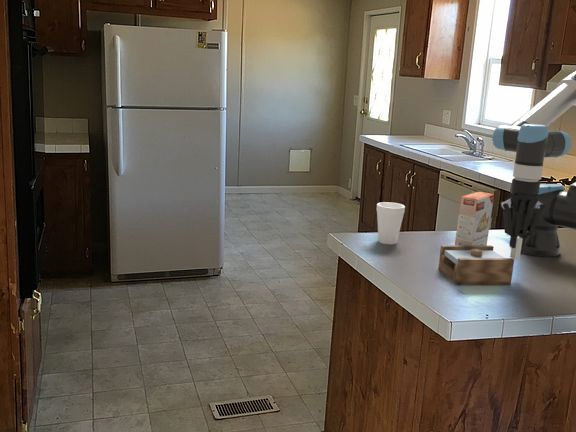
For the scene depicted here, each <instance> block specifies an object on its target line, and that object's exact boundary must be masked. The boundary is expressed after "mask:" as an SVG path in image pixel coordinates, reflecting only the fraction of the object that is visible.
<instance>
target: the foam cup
mask: <svg viewBox="0 0 576 432" xmlns="http://www.w3.org/2000/svg"><path fill="white" fill-rule="evenodd" d="M405 209H406V206H405V205H404V204H402V203H397V202H391V201H390V202H387V201H386V202H385V201H383V202H378V203H377V204H376V213H377V214H376V215H377V216H376V219H377V236H378V237H377V239H378V242H379V243H381V244H383V245H396V244H397V243H398V240H399V235H400V233H401V232H400V231H401V226H402V222H403V218H404V214H405V212H406V210H405Z"/></svg>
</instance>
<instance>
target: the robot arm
mask: <svg viewBox="0 0 576 432" xmlns="http://www.w3.org/2000/svg"><path fill="white" fill-rule="evenodd" d="M572 106H574V107H575V106H576V70H575V71H573V72H572V73H570V74H568V75H566V76H565V77H564V78H563V79H561V80H560V81H559V82H557V84H556V88H555V89H553V91H551V92H550V93H549V94H548V95H546V96H545V97H544V98H543V99H541V100H540V101H539V102H538V103H537V104H535V105H533V107H532V108H530V109H529V110H527V112H525V113H524V114H523V115H521V116H520V117H519V118H517V120H515V121H514V122H513V123H512V124H510V125H507V124H504V125H499V126H497V127H495V128H494V130H493V133H492V135H491V136H492V137H491V138H492V139H491V140H492V145H493V146H494V147H495V148H496V149H498V150H501V151H505V152H513V153H515V160H514V166H513V172H512V177H514V178H513V179H511V185H510V195H509V196H508V199H507V200H505V201H501V202H500V203H499V204H500V207H501V209H502V216H503V226H504V227H503V229H504V230H503V231H504V233H505V234H506V235H508V236H509V237H510V239H509V248H510V254H509V255H510V256H509V258H512V259H514V261H520V258H521V253H522V254H527V255H529V256H536V257H546V258H547V257H550V258H551V257H556V256H559V255H560V253H561V244H560V240H559V234H558V228H559V227H561V228H566V229H571V230H574V231H576V181H575V182H573V183H572V184H570V185H569V187H568V190H565V186H564V185H563V184H557V183H556V184H555V183H541V182H540V180H542V175H543V166H544V161H545V158H554V159H555V158H559V157H564V156H565V155H567V154H568V153H569V152H570V150H571V149H572V144H573V143H572V139H571V136H570V135H569V134H568V133H567V132H565V131H561V130H549V126H550V124H552V123H554V121H556V120H557V119H558V118H559V117H560V116H562V115H563V114H565V112H566V111H568V110H569V109H570V108H571V107H572ZM511 208H512V211H511Z"/></svg>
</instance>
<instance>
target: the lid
mask: <svg viewBox="0 0 576 432" xmlns="http://www.w3.org/2000/svg"><path fill="white" fill-rule="evenodd" d="M444 255H445V256H446V257H447V258H449V259H450V260H451V261H452V262H454V263H455V264H456V265H457V263H458V258H505V257H504V256H502V255H501V254H499V253H497V252H496V251H495V250H494V249H493V250H479V249H471V250H445V251H444Z"/></svg>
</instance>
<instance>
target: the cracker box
mask: <svg viewBox="0 0 576 432" xmlns="http://www.w3.org/2000/svg"><path fill="white" fill-rule="evenodd" d="M494 199H495V194H494V193H488V192H483V191H475V192H471V193H469V194H465V195H463V196H461V197H460V203H459V210H458V218H457V225H456V226H457V227H456V232H455V233H456V234H455V240H454V245H485V246H488V238H489V233H490V226H491V218H492V211H493V206H494Z"/></svg>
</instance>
